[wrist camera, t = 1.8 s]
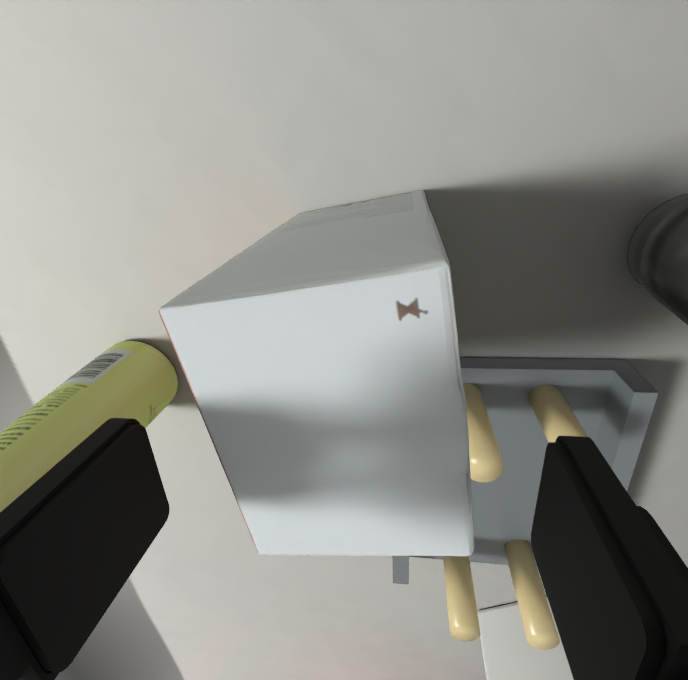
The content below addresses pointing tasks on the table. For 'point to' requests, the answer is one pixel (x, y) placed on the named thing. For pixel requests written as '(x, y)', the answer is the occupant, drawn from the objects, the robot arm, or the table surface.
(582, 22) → the table surface
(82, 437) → the tube
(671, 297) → the beverage cup
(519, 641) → the medicine bottle
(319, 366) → the small box
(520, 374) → the pin tray
